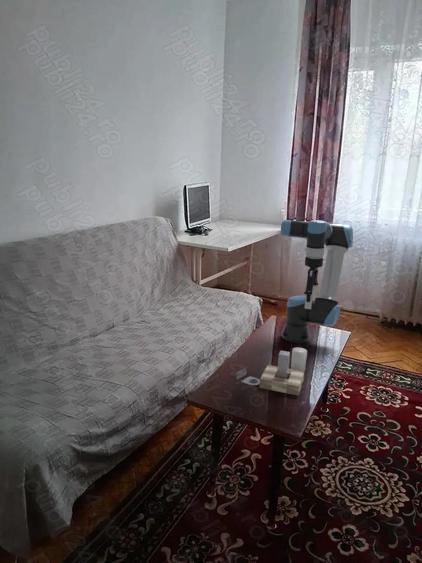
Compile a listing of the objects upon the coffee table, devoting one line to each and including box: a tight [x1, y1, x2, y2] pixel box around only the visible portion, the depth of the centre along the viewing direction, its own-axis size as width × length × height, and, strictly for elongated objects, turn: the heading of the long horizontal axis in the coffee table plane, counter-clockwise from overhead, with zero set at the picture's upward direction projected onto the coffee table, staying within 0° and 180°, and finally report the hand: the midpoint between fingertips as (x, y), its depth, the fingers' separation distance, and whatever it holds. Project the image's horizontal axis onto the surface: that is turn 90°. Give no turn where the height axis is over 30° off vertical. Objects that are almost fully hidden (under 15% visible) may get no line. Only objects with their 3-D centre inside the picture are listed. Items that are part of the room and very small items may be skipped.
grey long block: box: [277, 350, 291, 380], centre depth 173 cm, size 4×4×14 cm
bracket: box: [236, 367, 260, 386], centre depth 176 cm, size 7×10×4 cm, turn 48°
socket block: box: [259, 364, 305, 396], centre depth 174 cm, size 14×16×4 cm
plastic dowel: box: [290, 347, 308, 372], centre depth 188 cm, size 6×6×9 cm
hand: (310, 303), depth 184 cm, fingers open, 13 cm apart
